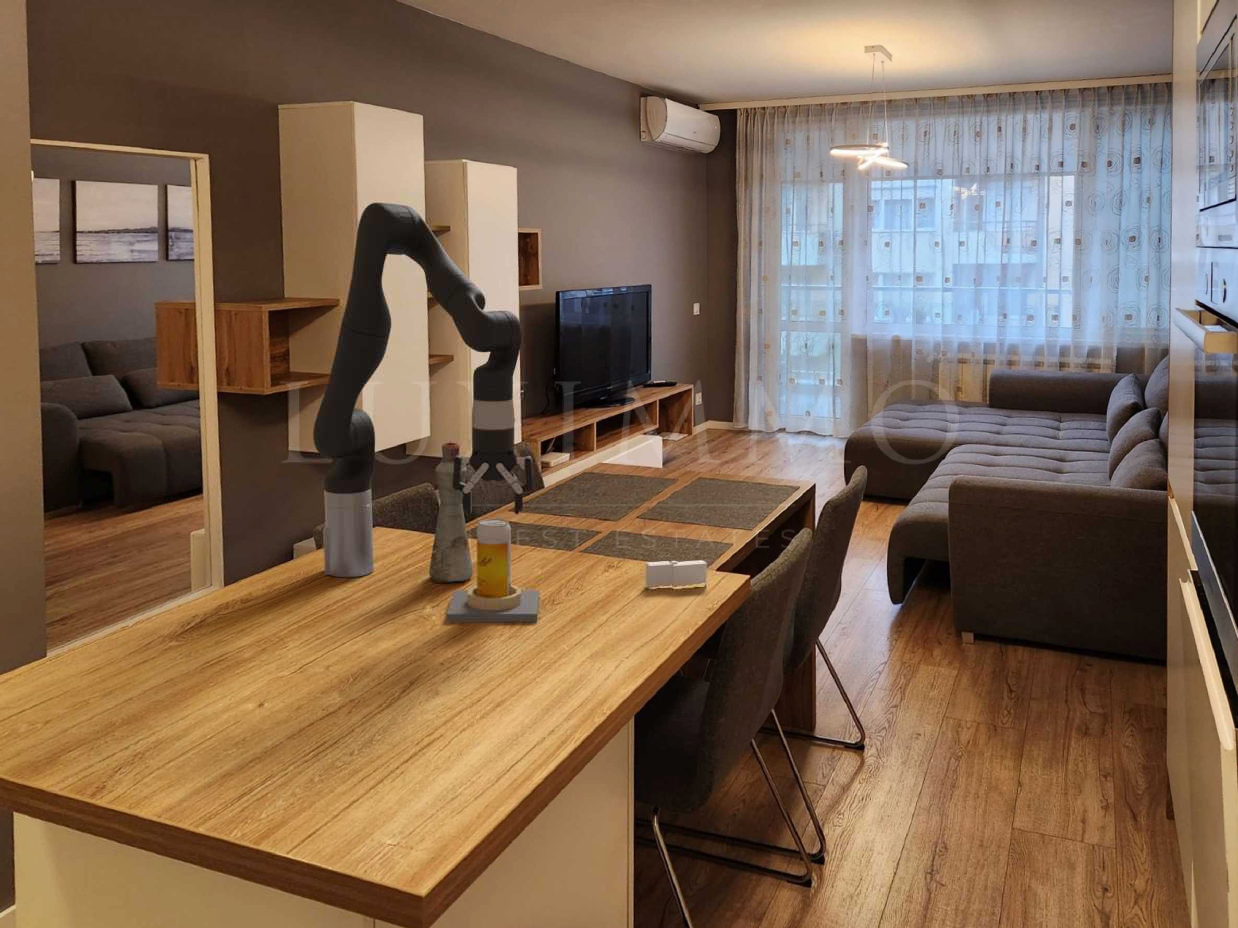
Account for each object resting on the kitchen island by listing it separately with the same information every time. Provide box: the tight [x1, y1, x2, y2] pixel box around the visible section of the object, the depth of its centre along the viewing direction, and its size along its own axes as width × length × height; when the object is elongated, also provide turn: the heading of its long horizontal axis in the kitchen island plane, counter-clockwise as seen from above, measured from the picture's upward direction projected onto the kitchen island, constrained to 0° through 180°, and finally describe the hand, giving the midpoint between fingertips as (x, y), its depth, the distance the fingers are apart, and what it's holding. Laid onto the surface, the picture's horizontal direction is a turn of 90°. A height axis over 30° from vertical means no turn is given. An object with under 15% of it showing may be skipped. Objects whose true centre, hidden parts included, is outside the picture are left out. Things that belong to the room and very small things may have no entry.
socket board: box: [446, 584, 540, 623], centre depth 204 cm, size 16×14×4 cm
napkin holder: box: [645, 560, 708, 588], centre depth 219 cm, size 15×11×6 cm
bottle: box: [428, 441, 474, 583], centre depth 220 cm, size 9×9×28 cm
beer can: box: [476, 518, 512, 598], centre depth 202 cm, size 6×6×15 cm
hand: (493, 512), depth 201 cm, fingers open, 8 cm apart
